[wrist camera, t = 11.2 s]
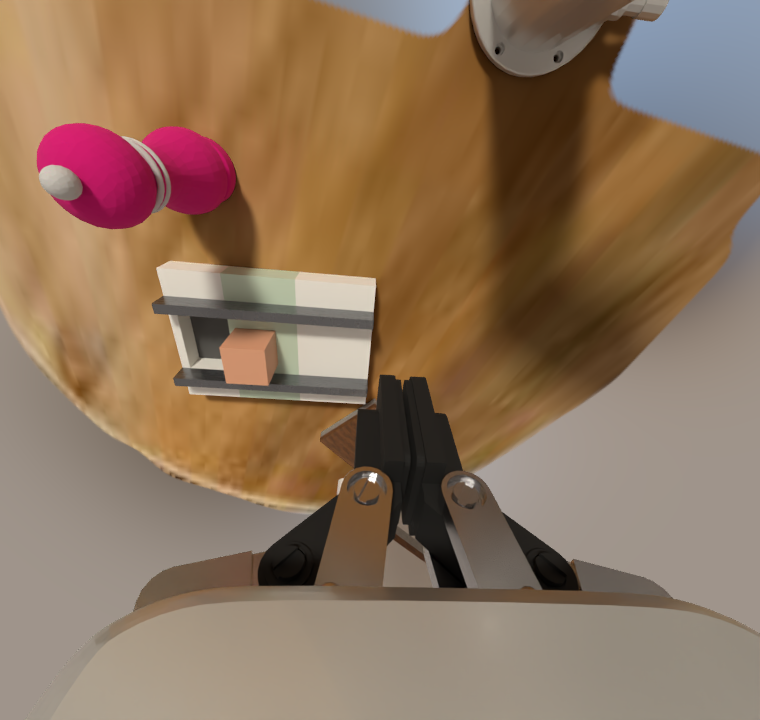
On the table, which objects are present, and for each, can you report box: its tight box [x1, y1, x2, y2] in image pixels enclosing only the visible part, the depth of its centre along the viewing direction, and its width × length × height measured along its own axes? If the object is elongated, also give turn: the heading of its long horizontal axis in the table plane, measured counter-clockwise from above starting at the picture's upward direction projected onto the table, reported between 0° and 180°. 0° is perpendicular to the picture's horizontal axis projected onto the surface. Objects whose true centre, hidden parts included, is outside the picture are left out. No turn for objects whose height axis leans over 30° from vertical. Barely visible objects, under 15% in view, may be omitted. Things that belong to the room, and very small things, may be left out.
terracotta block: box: [219, 328, 278, 386], centre depth 41 cm, size 5×5×5 cm
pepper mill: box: [37, 123, 236, 229], centre depth 26 cm, size 7×7×20 cm
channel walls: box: [152, 296, 374, 397], centre depth 42 cm, size 25×11×2 cm, turn 85°
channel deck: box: [156, 261, 376, 404], centre depth 44 cm, size 25×18×3 cm
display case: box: [320, 398, 433, 588], centre depth 41 cm, size 11×11×35 cm
